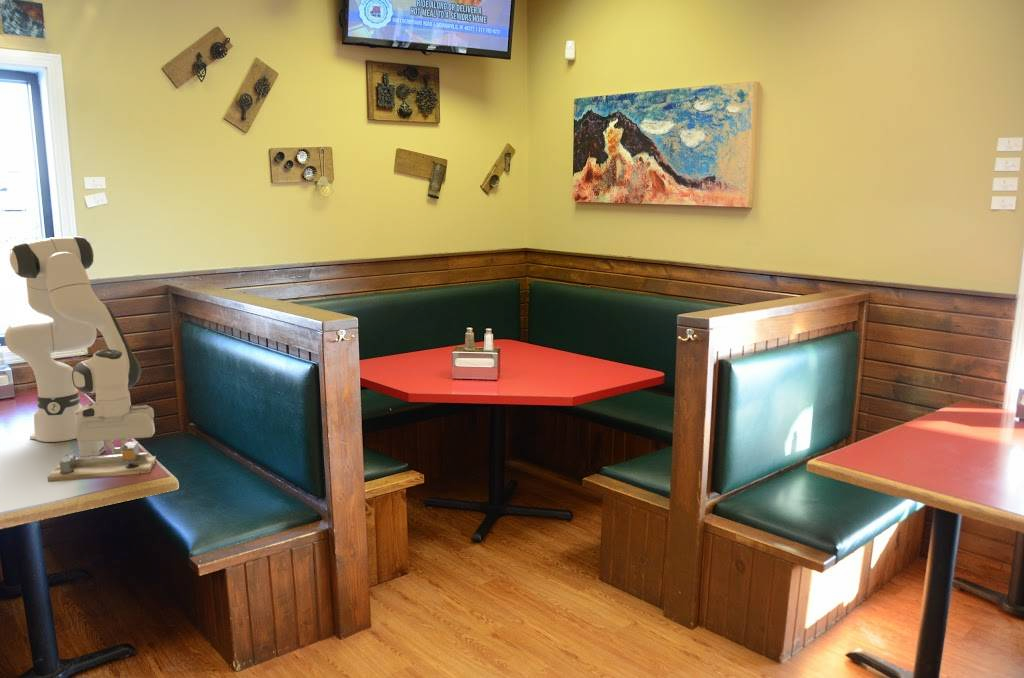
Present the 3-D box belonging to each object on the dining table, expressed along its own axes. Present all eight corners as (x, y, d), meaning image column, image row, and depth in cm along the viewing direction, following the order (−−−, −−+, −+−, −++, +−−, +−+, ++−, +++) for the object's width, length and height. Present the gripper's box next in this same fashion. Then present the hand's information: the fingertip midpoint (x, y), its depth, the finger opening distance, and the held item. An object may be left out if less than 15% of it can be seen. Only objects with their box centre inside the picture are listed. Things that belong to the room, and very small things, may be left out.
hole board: (59, 467, 238) (59, 463, 237) (156, 459, 244) (155, 456, 244) (47, 481, 226) (47, 477, 226) (149, 472, 233) (148, 468, 232)
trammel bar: (65, 465, 236) (64, 454, 235) (147, 458, 241) (146, 447, 241) (57, 474, 228) (56, 462, 228) (142, 467, 234) (141, 456, 233)
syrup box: (99, 456, 248) (95, 409, 246) (78, 457, 247) (73, 410, 245) (105, 450, 254) (101, 404, 251) (85, 451, 253) (80, 405, 250)
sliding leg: (128, 460, 239) (126, 442, 238) (139, 459, 240) (138, 441, 239) (123, 468, 232) (121, 449, 231) (135, 467, 233) (133, 448, 232)
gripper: (155, 401, 238) (159, 447, 240) (77, 406, 233) (82, 453, 235) (151, 407, 232) (155, 454, 234) (71, 412, 227) (76, 460, 229)
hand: (118, 453), depth 235 cm, fingers closed
